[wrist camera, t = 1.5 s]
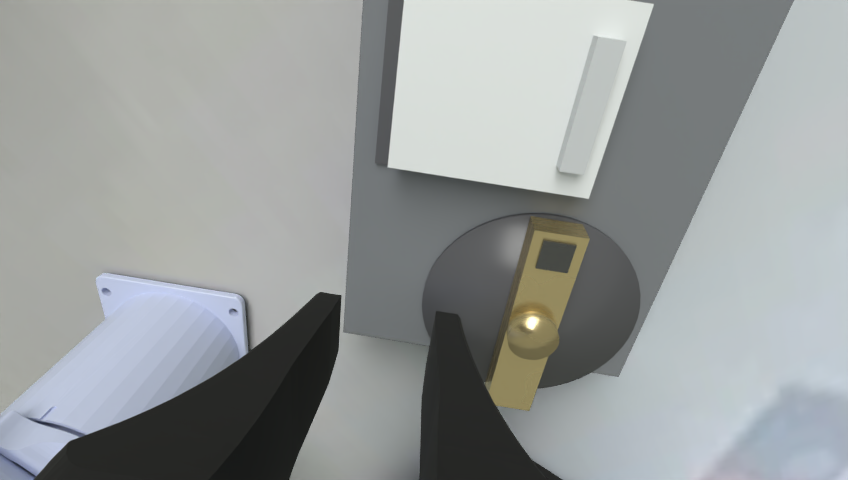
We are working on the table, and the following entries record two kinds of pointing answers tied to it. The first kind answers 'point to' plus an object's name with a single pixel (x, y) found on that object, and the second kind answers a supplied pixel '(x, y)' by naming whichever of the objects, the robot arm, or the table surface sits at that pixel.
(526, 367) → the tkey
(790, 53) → the table surface
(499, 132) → the hatch cover
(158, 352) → the robot arm
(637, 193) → the grey flat block
